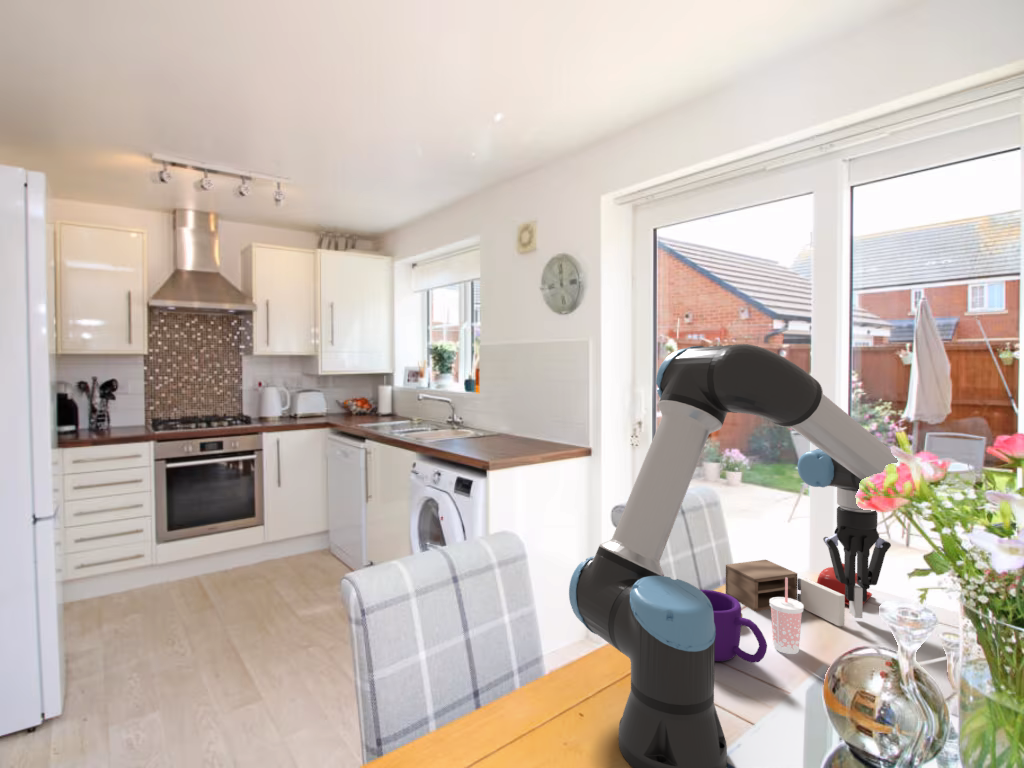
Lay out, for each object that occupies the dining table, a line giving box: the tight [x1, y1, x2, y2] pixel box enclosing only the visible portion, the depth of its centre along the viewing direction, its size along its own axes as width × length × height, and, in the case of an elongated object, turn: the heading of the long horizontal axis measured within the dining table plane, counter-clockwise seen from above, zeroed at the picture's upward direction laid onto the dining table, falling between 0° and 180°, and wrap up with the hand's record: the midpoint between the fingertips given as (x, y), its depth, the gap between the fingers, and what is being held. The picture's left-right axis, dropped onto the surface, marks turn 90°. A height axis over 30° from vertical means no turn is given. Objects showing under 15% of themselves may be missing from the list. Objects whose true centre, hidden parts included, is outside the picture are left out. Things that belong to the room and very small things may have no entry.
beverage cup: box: [769, 577, 804, 655], centre depth 109 cm, size 6×6×14 cm
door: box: [797, 577, 846, 627], centre depth 123 cm, size 12×3×6 cm, turn 17°
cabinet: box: [725, 559, 798, 612], centre depth 132 cm, size 10×12×8 cm
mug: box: [700, 589, 768, 664], centre depth 106 cm, size 17×11×10 cm, turn 35°
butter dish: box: [816, 563, 873, 606], centre depth 134 cm, size 12×12×8 cm
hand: (855, 615), depth 120 cm, fingers closed
